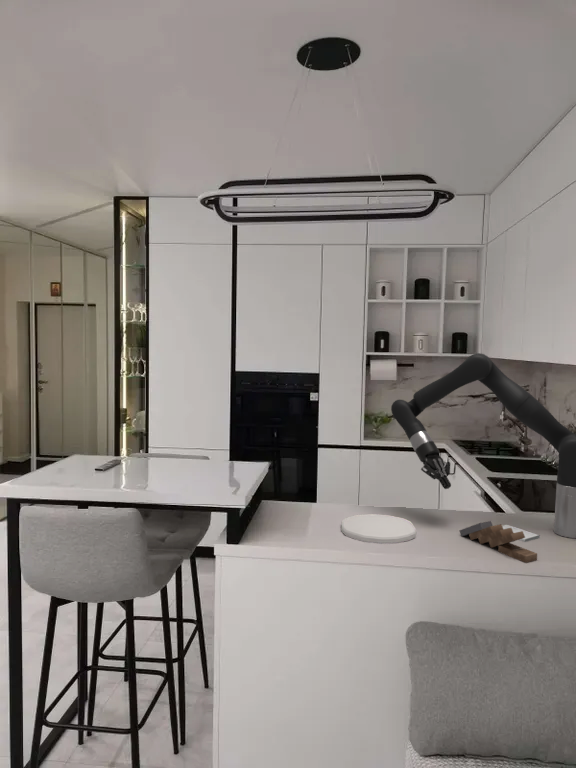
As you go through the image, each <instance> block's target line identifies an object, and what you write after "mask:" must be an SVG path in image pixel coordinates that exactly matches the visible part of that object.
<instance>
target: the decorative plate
mask: <svg viewBox="0 0 576 768" xmlns="http://www.w3.org/2000/svg"><path fill="white" fill-rule="evenodd" d="M341 533H344V534H345V535H346V536H345V535H344V534H343V535H344V536H345V537H348V538H350V537H351V539H353V538H354V540H356V539H357V541H360V540H361V542H364V541H368V542H367V543H372V542H378V543H377V544H382V543H385V544H399V543H398V542H400V543H404V541H405V542H408V541H410V540H413V539H415V538H416V537H417V528H416V527H415V525H414V524H413V523H412V522H411V521H410V520H407V519H406V518H403V517H398V516H393V515H388V514H378V513H370V514H356V515H352V516H348V517H346V518H344V519H342V520H341Z"/></svg>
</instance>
